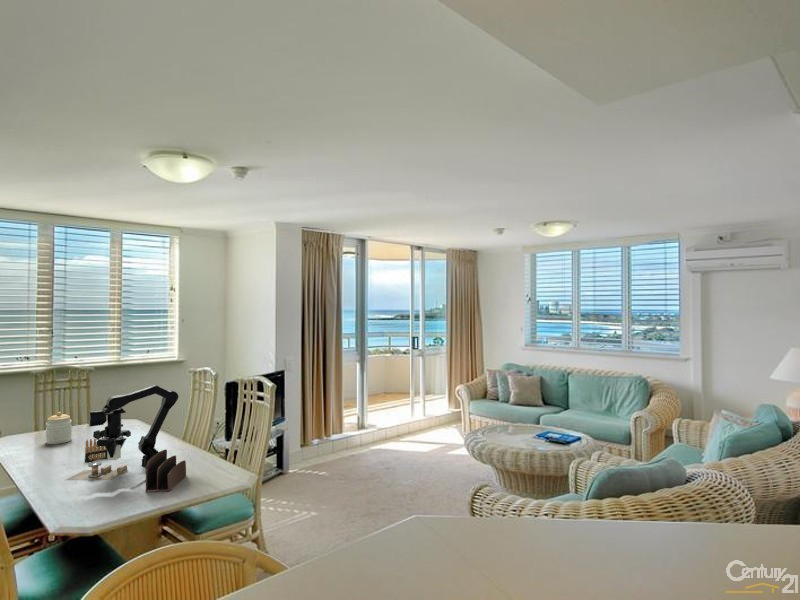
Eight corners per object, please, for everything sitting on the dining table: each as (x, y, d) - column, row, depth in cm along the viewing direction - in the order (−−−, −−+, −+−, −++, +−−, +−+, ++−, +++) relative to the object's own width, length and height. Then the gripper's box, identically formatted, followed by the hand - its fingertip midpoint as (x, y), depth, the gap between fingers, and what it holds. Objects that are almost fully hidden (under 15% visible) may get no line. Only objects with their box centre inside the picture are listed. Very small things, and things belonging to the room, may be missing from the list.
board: (127, 472, 237) (127, 469, 237) (110, 483, 223) (110, 479, 223) (84, 473, 237) (84, 469, 237) (64, 483, 223) (64, 480, 223)
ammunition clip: (85, 463, 252) (85, 440, 252) (84, 462, 254) (84, 439, 254) (108, 459, 259) (109, 436, 259) (108, 458, 261) (108, 435, 261)
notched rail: (127, 470, 237) (127, 464, 237) (121, 473, 232) (121, 468, 232) (107, 470, 237) (107, 464, 237) (100, 473, 232) (100, 468, 232)
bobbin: (103, 473, 232) (103, 462, 232) (97, 477, 226) (97, 465, 226) (92, 473, 232) (92, 462, 232) (85, 477, 226) (85, 465, 226)
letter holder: (145, 492, 212) (145, 460, 212) (165, 477, 232) (165, 447, 232) (168, 492, 212) (168, 459, 213) (186, 476, 232) (186, 446, 232)
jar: (41, 445, 287) (41, 414, 287) (51, 439, 299) (51, 410, 299) (66, 443, 290) (66, 413, 290) (75, 438, 302) (75, 409, 302)
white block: (120, 457, 237) (120, 444, 237) (115, 459, 233) (115, 447, 233) (112, 457, 237) (112, 444, 237) (107, 460, 233) (107, 447, 233)
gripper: (108, 418, 244) (109, 450, 244) (84, 428, 225) (84, 462, 225) (131, 418, 244) (131, 450, 244) (109, 428, 226) (109, 462, 225)
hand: (114, 456), depth 235 cm, fingers closed on white block, 4 cm apart
